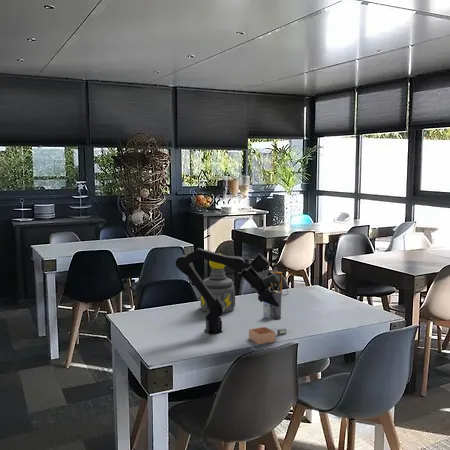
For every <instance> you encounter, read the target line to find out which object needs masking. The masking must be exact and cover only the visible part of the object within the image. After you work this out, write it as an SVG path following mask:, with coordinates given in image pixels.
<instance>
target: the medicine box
mask: <svg viewBox="0 0 450 450" xmlns="http://www.w3.org/2000/svg"><path fill="white" fill-rule="evenodd" d="M262 304H263V312H262V314H263V315H262V317H263V318H264V319H269V306H270V304H269V303H266V302H263V301H262Z"/></svg>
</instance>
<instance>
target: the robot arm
mask: <svg viewBox="0 0 450 450" xmlns="http://www.w3.org/2000/svg"><path fill="white" fill-rule="evenodd" d="M218 253H219V252H214V251H210V250H207V249H204V248H201V247H198V248H196V249H195V250H194V251H192V252H190V253H188V254H182V255H180V256H179V257H178V258H176V260H175V266H176V268H177V270H179V271H180V272H181V273H183V274H184V275H185V276H186V277H188V279H189V280H190V281H191V283H192V284H193V286H194V287H195V288H196V290H197V291H198V292H199V293H200V296H201V295H202V296H203V298H204V299H205V301H206V303H207V306H208V308H209V312H206V315H205V329H204V332H206V333H207V334H209V335H215V334H221V333H224V332H223V320H222V318H221V316H222V315H223V314H224V313H223V312H224V310H225V305H224V302H223V301H222V300H221V298H220V296H218V297H215V296H214V295H213V294H212V293H211V291H210V290H209V288H208V287H207V286H206V284H205V283H204V282H203V280H204V279H202V277H201V276H200V275H199V273H198V272H197V271H196V269H195V266H194V263H193V262H194V261H196V260H197V259H203V260H206V261H208V262H209V261H213V262H216V263H220V264H223V265H225V267H227V268H229V269H230V270H232V271H234V272H237V276H238V278H237V280H241V278H243V279H244V281H245V282H247V283H248V284H249V285H250V288H251V289H254V291H256V294H257V299H258V301H259V302H260V303H263V302H266V303H269V304H271V305H274V306H276V307H278V306H279V304H278V303H277V301H276V300H275V298H274V297H273V295H272V291H273V286H272V283H273V282H276V281H278V279H277V277H276V274H275V273H272V272H273V271H268V272H267V275H266V276H263V275H259V274H258V273H262V272H264V269H265V270H266V268H268V267H269V266H270V265H271V263H270V262H271V261H270V260H268V259H267V258H266V257H265V256H264V255H263V254H261V253H258V254H257V255H256V256H255V257H254V258H253V259H252V260H250V259H249V260H248V259H245V258H244V257H243V256H240V255H239V256H238V255H224V254H222V253H220V254H218ZM270 286H272V287H271V288H270Z"/></svg>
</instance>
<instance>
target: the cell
mask: <svg viewBox="0 0 450 450" xmlns="http://www.w3.org/2000/svg"><path fill="white" fill-rule="evenodd" d="M272 295H273V297H274V298H275V300H276V301H277V303H278V304H279V306H278V307H276V306H274V305H271V304H270V306H269V318H268V319H269V320H271V321H280V320H281V319H282V293H281V292H280V291H272Z"/></svg>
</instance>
